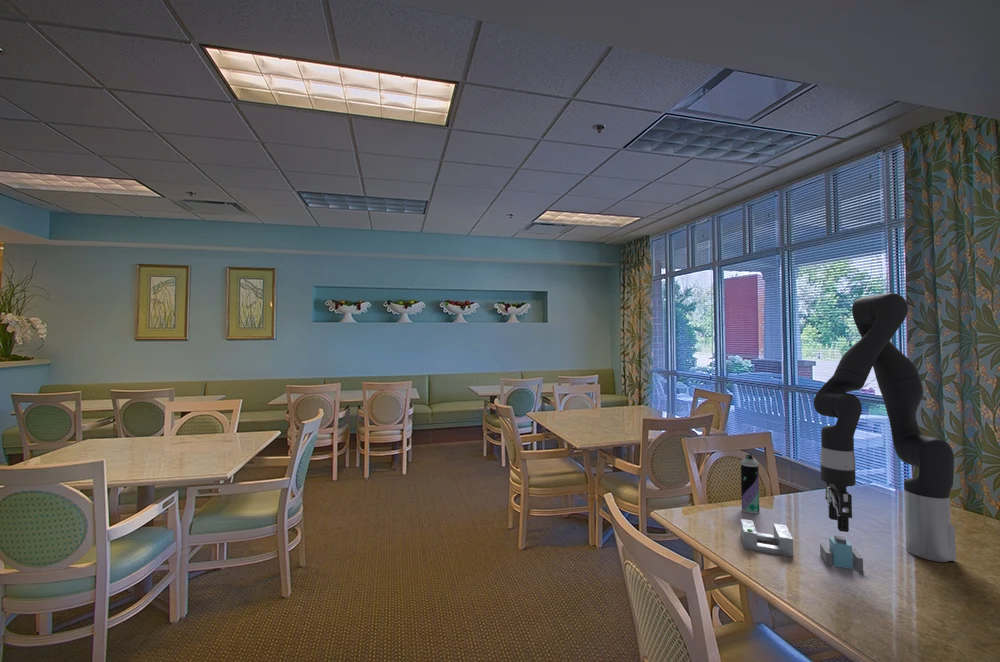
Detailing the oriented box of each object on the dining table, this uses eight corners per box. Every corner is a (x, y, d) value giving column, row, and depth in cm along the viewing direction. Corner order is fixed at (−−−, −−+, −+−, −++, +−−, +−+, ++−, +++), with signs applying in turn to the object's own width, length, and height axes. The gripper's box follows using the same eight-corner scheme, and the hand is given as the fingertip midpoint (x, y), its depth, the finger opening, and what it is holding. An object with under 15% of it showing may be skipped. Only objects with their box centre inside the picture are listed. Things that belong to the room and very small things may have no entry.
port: (786, 542, 129) (786, 523, 129) (793, 557, 120) (792, 536, 120) (741, 534, 134) (740, 516, 134) (744, 549, 125) (743, 529, 125)
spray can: (742, 512, 152) (740, 455, 152) (741, 507, 157) (740, 452, 157) (760, 515, 149) (758, 457, 150) (759, 509, 154) (757, 453, 155)
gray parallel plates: (855, 561, 117) (855, 548, 118) (863, 572, 112) (862, 558, 112) (820, 555, 121) (820, 543, 121) (826, 565, 115) (825, 552, 115)
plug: (847, 561, 117) (846, 536, 118) (852, 568, 114) (851, 542, 114) (829, 559, 119) (829, 533, 119) (834, 565, 115) (833, 539, 116)
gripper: (864, 474, 109) (865, 538, 109) (846, 460, 122) (847, 518, 122) (827, 470, 112) (828, 532, 112) (814, 457, 125) (815, 513, 125)
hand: (838, 525), depth 117 cm, fingers open, 8 cm apart
